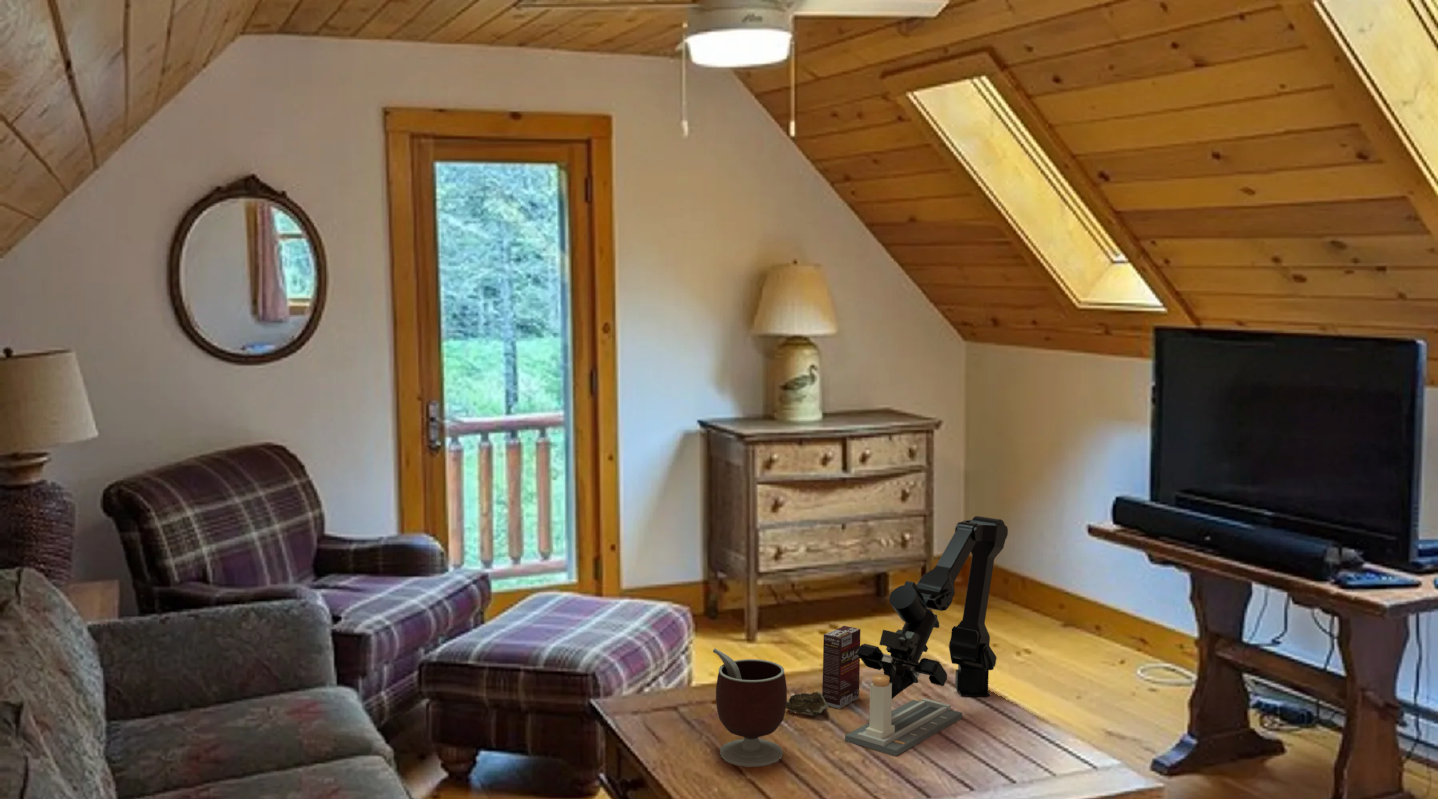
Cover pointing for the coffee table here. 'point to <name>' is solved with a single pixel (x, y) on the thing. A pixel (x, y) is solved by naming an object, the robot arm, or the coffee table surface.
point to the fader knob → (880, 707)
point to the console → (908, 726)
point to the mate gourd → (750, 708)
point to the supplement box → (841, 666)
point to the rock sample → (807, 703)
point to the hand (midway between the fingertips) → (885, 700)
